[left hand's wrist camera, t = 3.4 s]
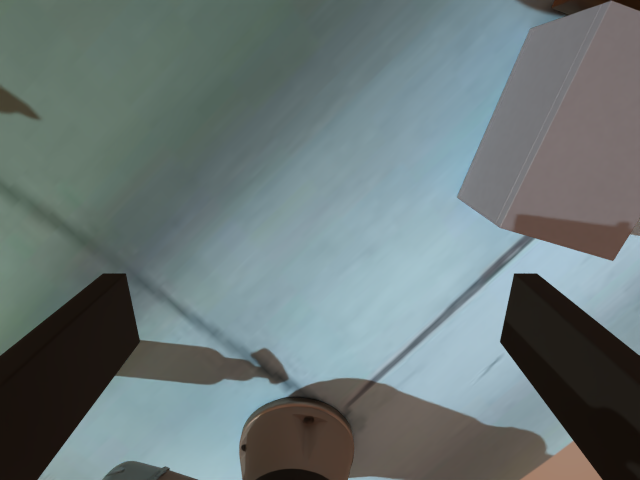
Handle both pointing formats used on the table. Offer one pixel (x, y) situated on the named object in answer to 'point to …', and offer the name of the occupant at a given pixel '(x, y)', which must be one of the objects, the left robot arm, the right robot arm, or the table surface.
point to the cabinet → (567, 135)
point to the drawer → (588, 5)
